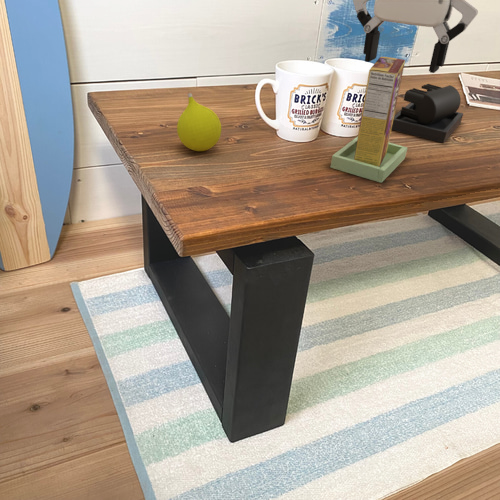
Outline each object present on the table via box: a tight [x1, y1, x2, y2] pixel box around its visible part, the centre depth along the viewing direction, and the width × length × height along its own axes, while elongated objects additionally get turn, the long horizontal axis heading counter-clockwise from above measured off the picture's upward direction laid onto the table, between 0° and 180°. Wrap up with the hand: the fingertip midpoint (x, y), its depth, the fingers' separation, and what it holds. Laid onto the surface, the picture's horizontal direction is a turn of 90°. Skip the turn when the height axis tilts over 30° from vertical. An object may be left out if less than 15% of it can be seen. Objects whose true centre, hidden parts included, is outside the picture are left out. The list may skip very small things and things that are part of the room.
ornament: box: [176, 92, 222, 152], centre depth 81 cm, size 7×7×10 cm
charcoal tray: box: [391, 102, 464, 144], centre depth 100 cm, size 11×14×2 cm
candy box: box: [354, 56, 406, 167], centre depth 79 cm, size 9×4×15 cm, turn 158°
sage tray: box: [329, 135, 408, 184], centre depth 83 cm, size 9×12×2 cm
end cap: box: [400, 83, 462, 126], centre depth 98 cm, size 10×7×7 cm
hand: (401, 65), depth 76 cm, fingers open, 9 cm apart
